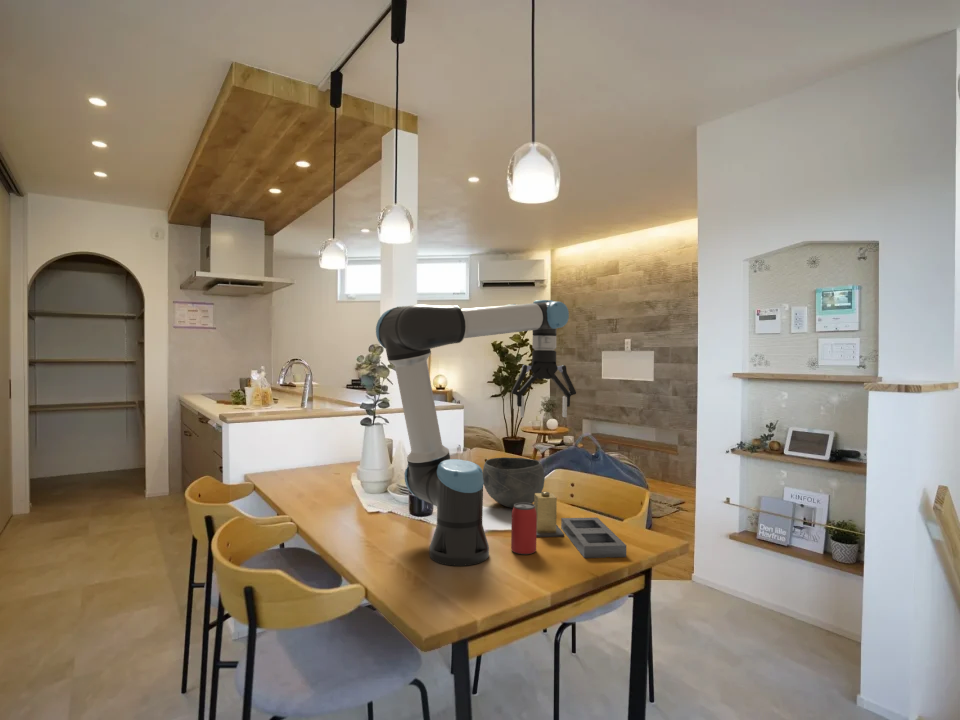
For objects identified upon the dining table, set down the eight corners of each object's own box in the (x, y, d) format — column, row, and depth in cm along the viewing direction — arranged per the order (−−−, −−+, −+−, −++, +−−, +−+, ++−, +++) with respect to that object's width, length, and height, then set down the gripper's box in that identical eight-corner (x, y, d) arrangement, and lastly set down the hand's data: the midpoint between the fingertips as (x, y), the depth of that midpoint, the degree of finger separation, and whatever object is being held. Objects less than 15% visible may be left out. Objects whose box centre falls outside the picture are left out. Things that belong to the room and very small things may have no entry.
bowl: (483, 496, 199) (483, 455, 199) (541, 498, 198) (542, 456, 198) (480, 513, 178) (481, 467, 178) (546, 515, 177) (547, 468, 177)
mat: (532, 537, 156) (532, 535, 156) (527, 527, 165) (527, 525, 165) (564, 536, 157) (564, 534, 157) (556, 526, 166) (556, 524, 166)
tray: (584, 558, 141) (584, 546, 141) (561, 528, 164) (561, 518, 164) (626, 557, 142) (626, 545, 142) (597, 527, 166) (597, 517, 165)
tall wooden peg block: (537, 532, 158) (538, 495, 158) (533, 527, 163) (534, 490, 163) (556, 532, 158) (556, 494, 158) (551, 526, 164) (552, 490, 164)
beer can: (505, 550, 146) (506, 504, 145) (523, 544, 150) (524, 500, 150) (523, 557, 140) (524, 510, 140) (541, 551, 145) (542, 506, 145)
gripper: (506, 349, 169) (505, 418, 170) (586, 350, 172) (585, 418, 172) (503, 349, 177) (502, 415, 177) (579, 350, 179) (578, 415, 180)
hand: (543, 417), depth 175 cm, fingers open, 13 cm apart
